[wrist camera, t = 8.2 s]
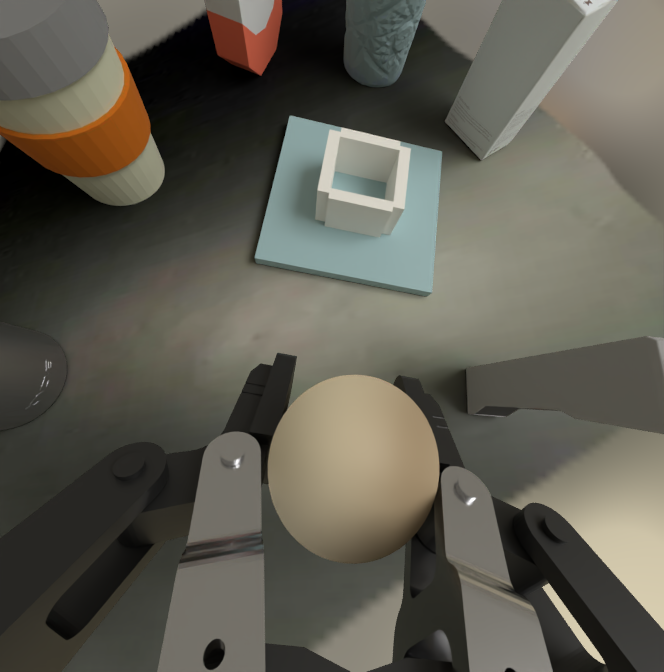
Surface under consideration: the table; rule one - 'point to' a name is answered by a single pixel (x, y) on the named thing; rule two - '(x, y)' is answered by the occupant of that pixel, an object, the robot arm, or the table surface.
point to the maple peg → (353, 469)
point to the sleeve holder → (353, 208)
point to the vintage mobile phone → (578, 384)
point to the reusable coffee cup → (75, 100)
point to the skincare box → (520, 67)
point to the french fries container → (245, 31)
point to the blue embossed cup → (379, 38)
